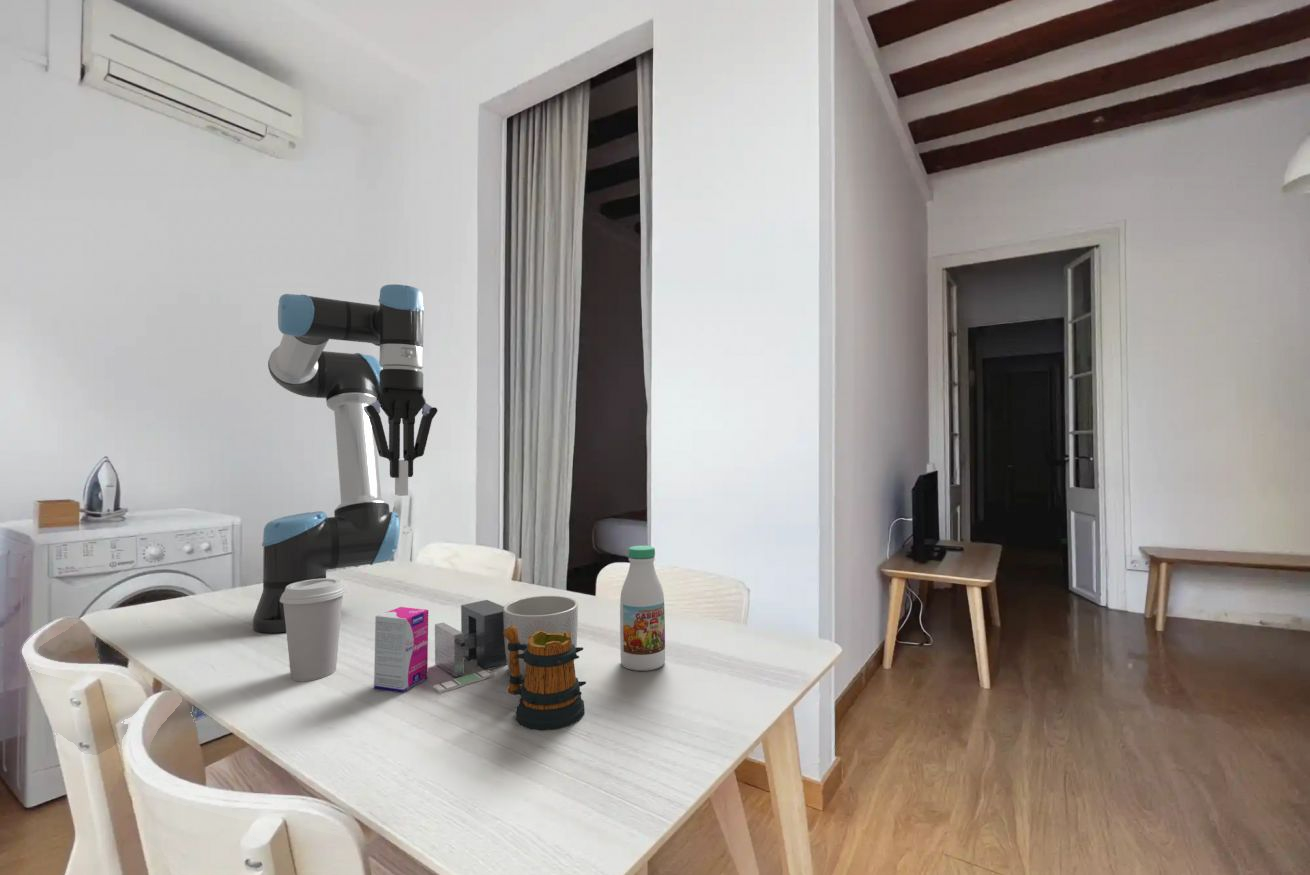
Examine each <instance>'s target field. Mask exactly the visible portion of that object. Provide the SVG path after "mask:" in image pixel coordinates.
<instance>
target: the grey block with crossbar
mask: <svg viewBox="0 0 1310 875" xmlns="http://www.w3.org/2000/svg"><path fill="white" fill-rule="evenodd" d="M475 647H477V638H476V632H473V633H469V634H465V635H463V633H462V632H461V630H458V629H456V628H455V627H453V626H451V625H449V624H447V623H446V622H439V623H434V663H435V665H437V666H439V667H440V668H441V669H443V670H444V671H446V672H448V673H449V674H451V675H452V676H454V677H458V676H461V675H464V672H465V671H464V669H465V668H464V667H465V666H464V665H465V662H464V660H465V658H464V653H463V651H464V650H468V649H472V648H475Z"/></svg>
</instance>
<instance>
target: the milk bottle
mask: <svg viewBox="0 0 1310 875" xmlns="http://www.w3.org/2000/svg"><path fill="white" fill-rule="evenodd" d="M655 549H656V548H655V547H654V546H651V545H634V546H633V545H632V546H629V548H628V549H627V551H628V552H627V553H628V560H627V561H629V566H628V567H629V568H628V572H627V574H626V577H625V580H624V582H623V585H622V587H621V590H620V591H621V592H620V601H619V602H620V604H619V616H620V617H619V618H620V619H619V622H620V623H619V625H620V626H619V627H620V628H619V631H620V632H619V633H620V634H619V636H620V639H619V640H620V643H619V644H620V662H621V665H622V666H623V667H624V668H625V669H628V670H631V671H636V672H639V671H640V672H643V671H653V670H657V669H659V668H661V667H662V666H664V664H665V663H666V662H665V661H666V621H665V619H666V618H665V617H666V616H665V614H666V612H665V595H664V591H663V586H662V583H661V581H660V579H659V577H658V574H657V571H656V568H655V564H654V561H656V557H655V556H656V550H655Z"/></svg>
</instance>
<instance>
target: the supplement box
mask: <svg viewBox="0 0 1310 875" xmlns="http://www.w3.org/2000/svg"><path fill="white" fill-rule="evenodd" d="M374 624H375V626H374V628H375V630H374V634H375V635H374V666H373V668H374V674H373V675H374V680H373V689H374V690H376V691H383V690H385V692H386V691H387V692H392V693H393V692H394V693H398V692H399V693H400V694H404V693H405V692H407V691H408V690H410V689H411V688H414V687H415V686H416V685H418V684H420V683H421V682H424V681H425V680H427V679H428V663H429V662H428V657H429V656H428V655H429V654H428V653H429V650H428V649H429V609H426V608H425V609H424V608H416V607H415V608H413V607H406V606H399V607H396V608H394V609H391V610H388V611H386V612H384V613H383V612H382V613H381V614H379V615H376V616H375V622H374Z"/></svg>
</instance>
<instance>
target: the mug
mask: <svg viewBox="0 0 1310 875" xmlns="http://www.w3.org/2000/svg"><path fill="white" fill-rule="evenodd" d="M503 634H504V636H505V637H506V638H507V639H508V641H509V643H508V650H509V651H510V652H509V666H510V669H509V670H510V675H508V676H509V677H508V682H509V685H508V687H507V693H508V695H512V696H519V695H520V698H519V701H518V705H517V706H516V711H515V721H516V722H517V723H518V725H519V726H520V727H523V728H525V729H528V730H532V731H539V732H540V731H542V732H544V731H555V730H556V731H557V730H560V729H564V728H567V727H570V726H573V725H574V724H575V723H578V722H580V720H581V719H582V718H583V717H584V716H585V701H584V699H582V694H583V693H582V692H581V687H583V686H586V684H587V681H582V680H580V681H579V679H578V677H576V670H575V668H576V667H575V660H577V659H580V656H579V655H578V654H577V653H579V652H581V651H583V650H584V647H582V646H581V647H575V645H573V644H572V642H571V633H569V632H564V634H562V633H546V632H544V631H540V630H538V631H537V632H535V633H534V634H532V635H531V636H529V641H528V644H524V643H522V644H521V642H519V637H518V631H517V629H516V627H515V626H511V627H509V628H507V629H506V630H504V631H503ZM519 650H522V651H524V653H522V654H519ZM519 658H521V659H523V660H524V662H526V671H525V678H523V677H522V674H520V663H519ZM574 659H575V660H574Z"/></svg>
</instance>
